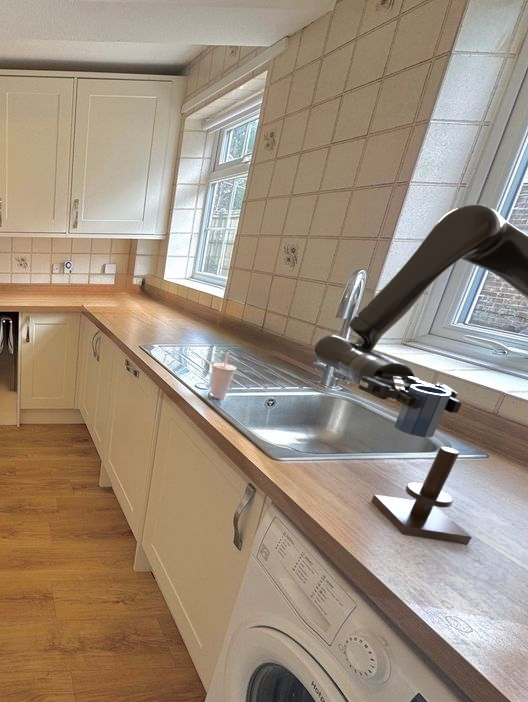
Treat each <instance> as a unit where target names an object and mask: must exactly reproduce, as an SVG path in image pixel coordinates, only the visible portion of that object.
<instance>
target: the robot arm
mask: <svg viewBox="0 0 528 702" xmlns="http://www.w3.org/2000/svg"><path fill="white" fill-rule="evenodd" d="M461 260H463V261H465V262H468V263H469V264H472V265H474V266H477V267H478V268H481V269H483V270H485V271H488V272H490V273H492V274H493V275H496V276H497V277H498V278H501V279H502V280H504V282H506V283H508V284H509V285H510V286H511V287H512V288H513V289H515V290H516V291H517V292H518V293H520V294H521V295H522V296H524V297H525V298H526V299H527V300H528V234H527V233H526V232H525V233H524V232H523V231H521V230H520V229H518V228H517V227H516V226H514V225H512V224H511V223H510V222H508V221H507V220H505V218H504V217H503V216H502V215H500V214H499V213H498V212H497V211H496V210H494V209H493V208H492V207H489V206H487V205H484V204H467V205H463V206H460V207H457V208H454V209H452V210H451V211H449V212H447V213H446V214H445V215H443V216H442V217H441V218H440V219H439V220H438V222H436V224H435V225H434V227H433V228H432V229H431V230H430V231H429V233H428V235H426V236H425V238H424V240H423V241H422V243H421V244H420V245H419V246H418V248H417V249H416V251H415V252H413V254H412V255H411V256H410V258H408V260H407V261H406V262H405V264H404V265H403V266H402V267H401V268H400V270H399V271H398V272H397V273H396V274H395V275H394V276H393V277H392V278H391V279H390V281H389V280H388V282H387V283H386V285H385V286H383V288H382V289H381V290H379V291H378V293H376V294H375V295H374V296H373V297H372V298H371V299H370V300H369V301H368V302H367V303H366V304H365V305H364V306H363V307H362V308H361V309H360V310H359V311H358V312H357V313H356V314H355V315H354V316H353V317H352V318H351V319H350V321H349V322H348V327H349V329H351V331H353V332H354V333H355V334H356V335H357V339H356V340H355V342H352V341H350V340H349V339H346V338H344V337H342V336H341V335H337V334H329V335H325V336H323V337H320V338H319V339H318V340H317V341H316V342H315V344H314V346H313V355H314V357H315V359H316V360H317V361H319V362H321V363H323V364H324V365H327V366H329V367H330V368H331V367H332V368H333V369H335V370H337V371H339V372H340V373H342V374H343V375H345V376H346V377H347V378H348V379H351V380H352V381H353V382H354V383H355V384H356V385H358V390H361V391H363V392H365V393H367V394H370V395H372V396H373V397H376V398H377V399H378V398H379V399H380V400H387V399H389V400H391V401H393V402H394V403H395V402H396V403H400V404H402V405H403V404H404V405H406V406H407V407H409V408H411V409H417V408H418V406H419V404H420V401H421V398H420V397H418V396H417V395H415V394H413V393H411V392H409V391H408V390H409V387H410V386H411V385H426V386H432V387H436V388H440V389H444V390H446V391H448V392H450V393H451V396H450V398H449V400H448V403H447V405H446V407H445V410H444V411H446V412H448V413H451V414H458V412H459V411H460V408H461V406H462V402H461V400H459V399H457V396H458V394H459V392H457V391H456V390H454V389H453V388H451V387H450V386H448V385H447V384H445V383H443V382H437V383H436V384H432V383H429V382H427V381H423V380H422V379H420V378H418V377H415V374H414V372H413V370H412V369H411V367H409V366H407V365H406V364H404V363H401V362H399V361H397V360H395V359H393V358H391V357H388V356H386V355H384V354H381V353H377V352H375V351H373V350H374V348H375V347H376V346H377V344H378V343H379V341H380V340H381V338H382V337H383V336H384V335H385V334H387V332H388V331H390V330H391V329H392V328H393V327H394V326H395V325H397V323H398V322H400V320H402V318H404V317H405V315H406V314H408V313H409V311H410V310H411V309H412V308H413V307H414V306H415V304H416V303H417V302H418V300H420V298H421V297H422V295H423V294H424V293H425V291H427V289H428V288H429V287H430V286H431V285H432V284H433V283H434V282H435V281H436V280H437V279H438V278H439V277H440V276H441V275H442V274H443V273H444V272H446V271H447V270H448V269H450V268H451V267H452V266H453V265H454V264H455V263H457V262H458V261H461Z"/></svg>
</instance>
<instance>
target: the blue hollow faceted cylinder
mask: <svg viewBox="0 0 528 702" xmlns="http://www.w3.org/2000/svg"><path fill="white" fill-rule="evenodd" d="M408 391H409V392H411V393H413V394H415V395H417V396H418V397H420V398H421V401H420V404H419V406H418V408H417V409H411V408H409V407H407V406H406V405H404V404H402V405H401V408H400V410H399V413H398V415H397V418H396V421H395V423H394V428H395V429H397V431H400V432H402V433H404V434H408V435H411V436H415V437H420V438H433V437H434V435H435V432H436V430H437V428H438V425H439V423H440V421H441V420H442V416H443V414H444V412H445V411H446V410H445V407H446V405H447V403H448V400H449V398H450V396H451V393H450V392H448V391H446V390H444V389H440V388H436V387H432V386H426V385H411V386H410V387H409V390H408Z"/></svg>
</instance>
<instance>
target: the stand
mask: <svg viewBox="0 0 528 702" xmlns="http://www.w3.org/2000/svg"><path fill="white" fill-rule="evenodd" d="M459 455H460V451H459V450H456V449H454V448H452V447H448V446H440V447H439V449H438V451H437V453H436V455H435V458H434V459H433V462H432V464H431V466H430V469H429V471H428V473H427V475H426V477H425V479H424V482H415V481H412V482H408V483H407V484H406V487H405V493H407V495H409V496H410V498H413V499H408V498H402V497H394V496H389V495H381V494H373V495H372V498H371V502H372V504H373V505H374V506H375V507H376V508H377V509H378V510H379V511H380V512H381V513H382V514H383V516H385V517H386V519H388V521H389V522H390V523H392V525H393V526H394V527H395V528H396V529H397V531H399V532H400V533H401V534H402V535H404V536H405V535H407V536H412V537H419V538H425V539H431V540H432V539H433V540H438V541H443V542H451V543H457V544H462V545H469V543H470V541H471V539H472V536H471V535H470V534H469V533H468V532H467V531H465V530H464V529H463V528H462V527H461V526H460V525H458V524H457V523H456V522H455V521H454V520H453V519H451V518H450V517H449V516H448V515H447V514H446V513H444V512H443V511H442V510H441V509H440V508H444V509H445V508H446V509H447V508H449V507H451V506H452V505H453V502H454V498H453V497H452V495H450V494H449V493H447V491H444V490H443V488H444V485H445V484H446V481H447V480H448V478H449V475H450V473H451V472H452V469H453V467H454V465H455V463H456V461H457V459H458V457H459Z"/></svg>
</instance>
